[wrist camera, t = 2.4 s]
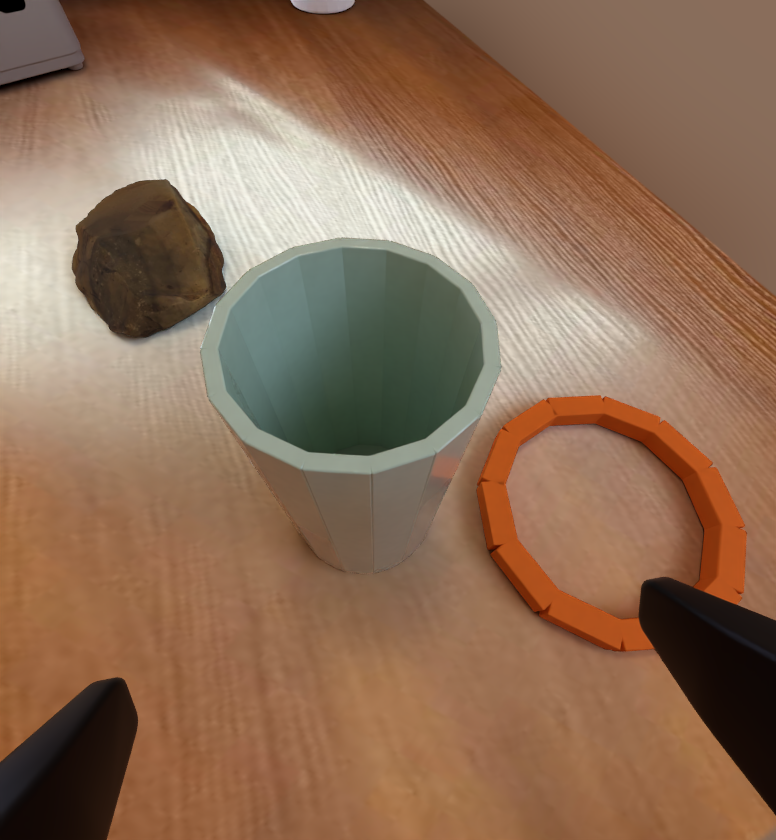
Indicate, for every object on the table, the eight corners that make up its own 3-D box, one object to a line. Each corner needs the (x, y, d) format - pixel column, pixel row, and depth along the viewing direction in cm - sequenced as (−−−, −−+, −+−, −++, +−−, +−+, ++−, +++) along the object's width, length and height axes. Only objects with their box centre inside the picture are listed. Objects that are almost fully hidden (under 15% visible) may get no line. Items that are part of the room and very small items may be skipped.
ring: (717, 705, 17) (739, 709, 16) (443, 569, 19) (447, 564, 18) (734, 460, 23) (751, 451, 22) (519, 376, 25) (525, 365, 24)
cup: (397, 600, 19) (431, 532, 7) (271, 534, 20) (134, 389, 9) (451, 475, 22) (535, 289, 10) (339, 424, 23) (303, 210, 12)
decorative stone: (257, 296, 28) (243, 252, 25) (116, 358, 25) (80, 317, 22) (194, 213, 32) (175, 167, 28) (66, 259, 29) (29, 212, 26)
